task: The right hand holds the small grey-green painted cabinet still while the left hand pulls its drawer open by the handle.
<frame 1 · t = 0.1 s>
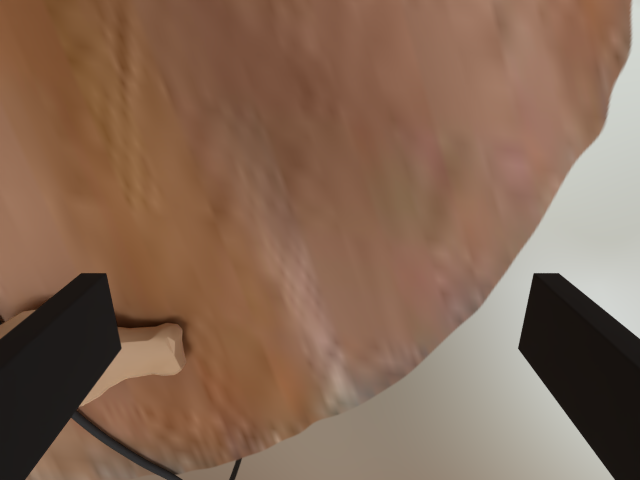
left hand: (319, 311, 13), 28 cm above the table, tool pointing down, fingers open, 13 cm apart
squash: (102, 334, 46), on the table
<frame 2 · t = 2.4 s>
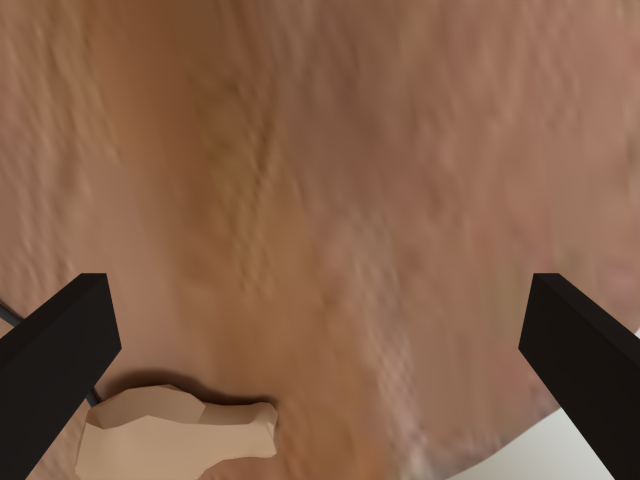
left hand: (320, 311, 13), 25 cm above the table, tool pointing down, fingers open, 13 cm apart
squash: (192, 407, 46), on the table
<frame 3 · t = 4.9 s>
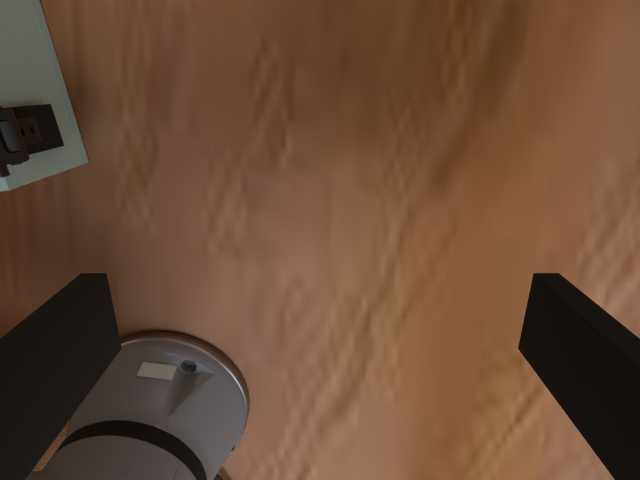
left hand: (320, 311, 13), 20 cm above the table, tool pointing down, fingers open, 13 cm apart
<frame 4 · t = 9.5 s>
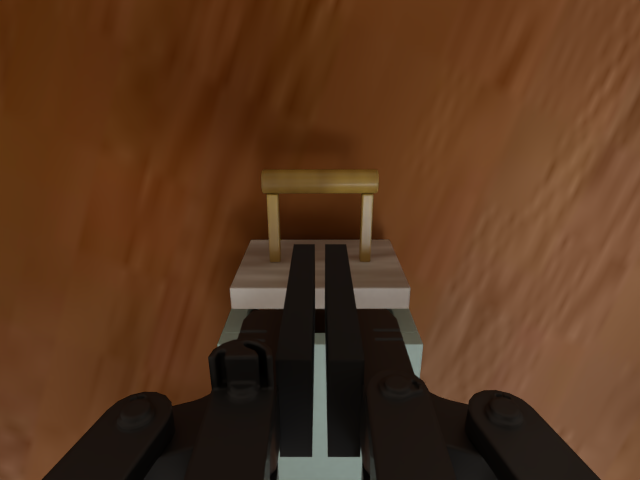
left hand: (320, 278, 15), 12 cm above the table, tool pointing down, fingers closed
cabinet: (320, 394, 32), on the table, touching right hand
drawer: (320, 369, 26), point 4 cm above the table, slide at 1.4 cm
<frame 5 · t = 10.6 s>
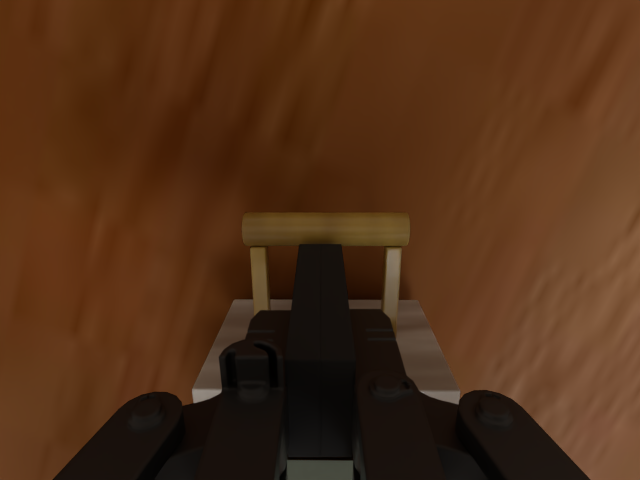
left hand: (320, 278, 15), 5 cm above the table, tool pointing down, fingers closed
drawer: (325, 478, 19), point 4 cm above the table, slide at 1.7 cm, touching left hand
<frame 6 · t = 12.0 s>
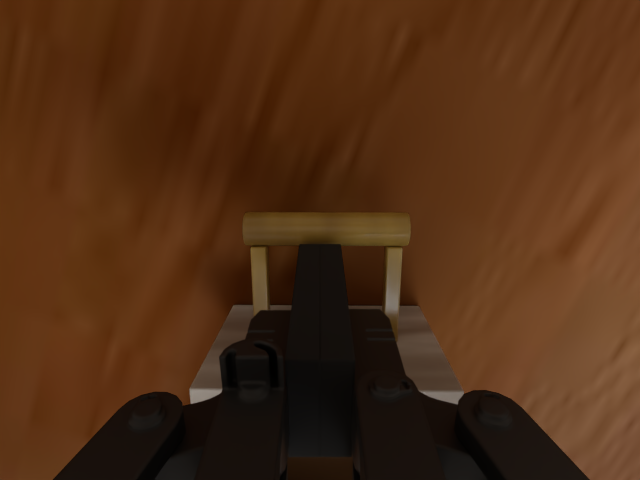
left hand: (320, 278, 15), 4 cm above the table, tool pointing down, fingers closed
when the right hand's fingers open (4 cm above the table, at t = 14.2 s): cabinet stays where it is, on the table.
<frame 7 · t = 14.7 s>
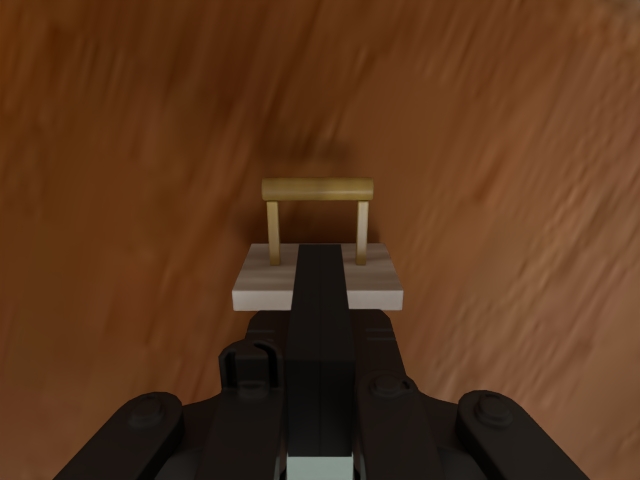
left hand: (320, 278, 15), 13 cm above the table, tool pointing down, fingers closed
cabinet: (319, 454, 35), on the table
drawer: (318, 368, 27), point 4 cm above the table, slide at 8.0 cm
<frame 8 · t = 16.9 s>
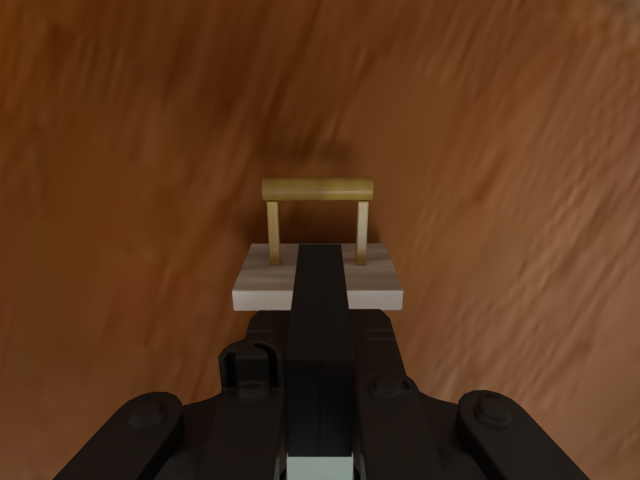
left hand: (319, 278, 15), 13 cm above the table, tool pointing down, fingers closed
cabinet: (319, 454, 35), on the table
drawer: (318, 368, 27), point 4 cm above the table, slide at 8.0 cm
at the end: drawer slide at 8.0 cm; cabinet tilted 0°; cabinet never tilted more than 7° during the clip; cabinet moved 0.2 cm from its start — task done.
